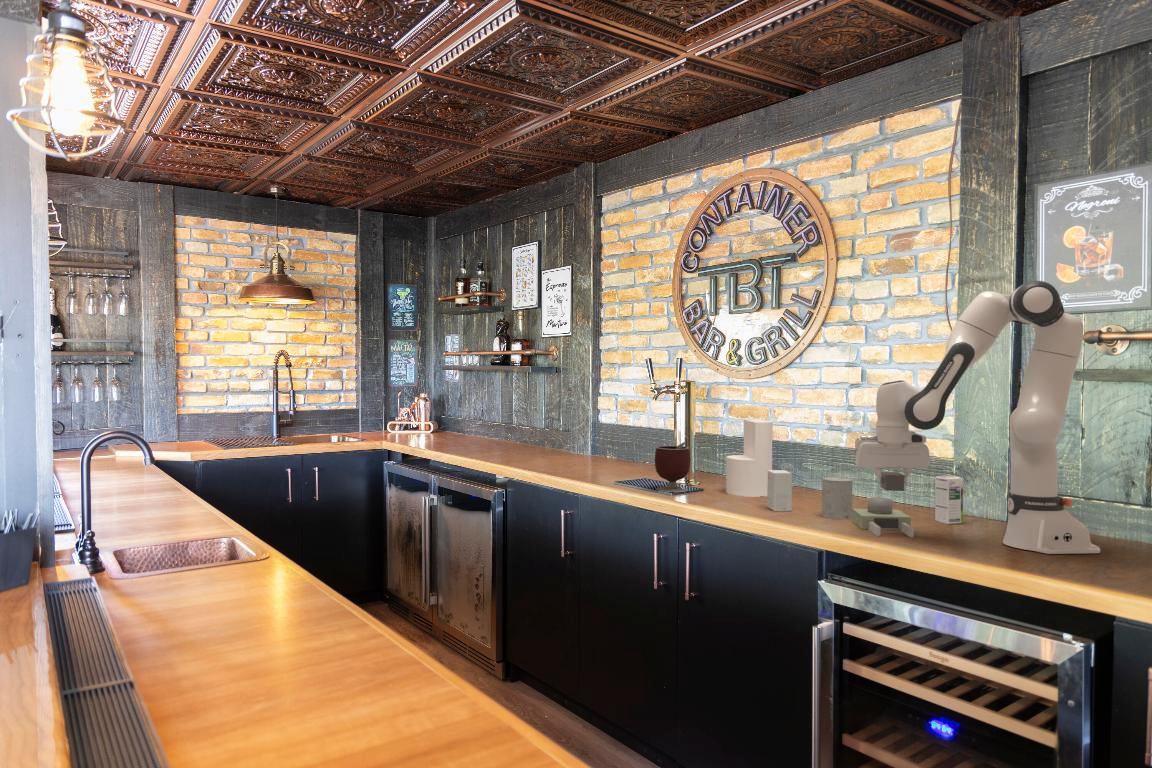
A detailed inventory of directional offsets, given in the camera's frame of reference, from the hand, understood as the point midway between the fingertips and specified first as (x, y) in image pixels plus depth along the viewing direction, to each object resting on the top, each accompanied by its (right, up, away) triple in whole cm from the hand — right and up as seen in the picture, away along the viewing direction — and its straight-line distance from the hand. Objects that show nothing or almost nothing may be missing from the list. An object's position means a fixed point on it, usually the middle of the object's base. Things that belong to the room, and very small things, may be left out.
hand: (892, 483), depth 221 cm
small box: (-23, -14, +38) cm, 47 cm away
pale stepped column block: (-26, -13, +72) cm, 78 cm away
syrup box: (+25, -15, +17) cm, 34 cm away
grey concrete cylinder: (-7, -14, +26) cm, 31 cm away
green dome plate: (+1, -15, +7) cm, 16 cm away
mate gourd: (-54, -13, +77) cm, 95 cm away
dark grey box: (0, -2, 0) cm, 2 cm away
